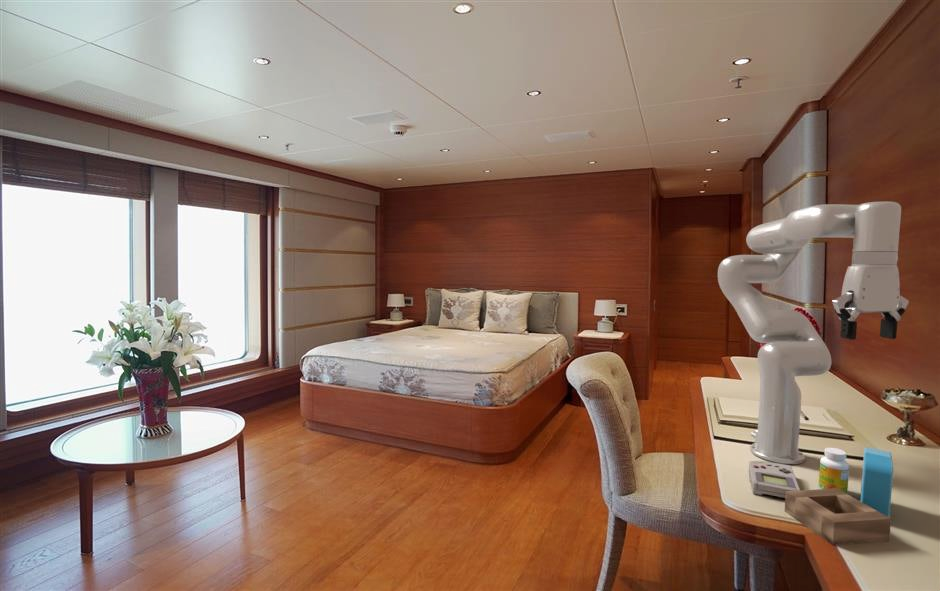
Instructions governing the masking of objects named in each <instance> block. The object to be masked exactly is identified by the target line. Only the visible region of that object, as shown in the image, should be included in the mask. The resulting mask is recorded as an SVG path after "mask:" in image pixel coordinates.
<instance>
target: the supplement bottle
mask: <svg viewBox="0 0 940 591" xmlns="http://www.w3.org/2000/svg"><path fill="white" fill-rule="evenodd" d="M819 463H820V464H819V473H818V474H819V475H818V488H819V489H834V488H837V489H839V490H841V491H842V492H844V493H846V494H848V488H849V476H850V475H849V474H850V464H849V462H848V461H847V452H846V451H844V450H843V449H840V448H836V447H825V448H824V456H822V457H821V458H820V460H819Z"/></svg>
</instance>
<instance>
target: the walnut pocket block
mask: <svg viewBox="0 0 940 591" xmlns="http://www.w3.org/2000/svg"><path fill="white" fill-rule="evenodd" d="M784 499H785V500H784V512H785V513H786V514H788V515H789V516H791V517H792V518H794V519H795V520H796V521H797V522H798V523H799V522H800V523H801V524H802V525H803V526H805V527H806V528H808V529H809V530H811V531H812V532H813V533H815V534H816V535H818V536H819V537H821V538H822V539H823V540H824V541H826V542H828V543H829V544H831V545H833V546H836V545H837V546H839V545H851V544H861V543H862V544H865V543H877V542H889V541H890V535H891V522H892V518H891V517H890V516H889V517H887V516H885V515H884V514H882V513H880V512H878V511H876V510H875V509H873V508H871V507H869V506H867V505H866V504H864V503H862V502H861V500H858V499H856V498H854V497H853V496H851V495H850V494H848V493H847V494H846V493H844V492H842V491H841V490H839V489H837V488H834V489H803V490H802V489H800V490H799V491H786V497H785V498H784Z"/></svg>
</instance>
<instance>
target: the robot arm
mask: <svg viewBox="0 0 940 591" xmlns="http://www.w3.org/2000/svg"><path fill="white" fill-rule="evenodd" d="M901 218H902V206H901V204H900V203H898V202H895V201H884V200H883V201H871V202H870V201H868V202H864V203H860V204H841V203H840V204H836V203H834V204H832V203H831V204H828V203H825V204H817V205H812V206H807V207H804V208H801V209H797V210H794V211H792V212H790V213H789V214H788V215H787V216H786V217H785V218H781V219H777V220H776V219H775V220H773V221H767V222H765V223H762V224H759V225H756V226H755V227H752V228H751V229H750V230H749V232H748V233H747V235H746V238H745V241H746V245H747V247H748V248H749V249H750V250H752V251H753V252H755V253H756V254H739V255H738V254H737V255H731V256H728V257H726V258H724V259H723V260H722V261H721V262H720V263H719V265H718V268H717V282H718V285H719V288H720V289H721V292H722V293H723V295H724V296H725V297H726V299H727V300H728V301H729V303H730V304H731V305H732V307H733V308H734V311H735V312H736V314H737V315H738V317H739V319H740V321H741V322H742V325H743V327H744V328H745V330H746V331H747V333H748V335H749V337H750V338H751V339H752V340H754V341H755V342H757V343H761V344H763V345H762V346H761V347H760V348H759V349H758V352H757V365H758V370H759V404H758V417H757V418H758V419H757V420H758V421H757V428H756V429H755V430H754V431H751V432H750V434H749V435H750V436H751V437H752V438H754V442H753V443H752V444H750V447H749V448H750V450H749V451H750V452H751V453H752V455H755V456H756V457H758V458H760V459H763V460H765V461H768V462H772V463H778V464H784V465H798V464H802V463H803V462H805V458H806V457H805V454H804V453H803V452H801V451H800V450H799V443H800V441H799V439H800V428H801V427H800V425H801V409H802V391H801V389H800V386H799V385H798V383H797V381H796V377H814V376H821V375H824V374H825V373H827V372H828V371H829V370H830V368H831V366H832V356H831V353H830V351H829V348H828V347H827V345H826V343H825V342H824V340H823V339H822V337H821V336H820V334H819V332H818V331H817V330H816V328H815V327H814V325H813V324H812V322H811V321H810V320H809V318H808V317H807V316H806V315H805V314H803V313H802V312H800V311H798V310H793V309H776V308H774V307H772V306H771V305H770V303H769V301H768V300H767V298H766V296H765V295H764V294H763V293H762V292H761V291H760V290H758V289H757V288H755V287H754V286H752V285H751V284H771V283H776V282H778V281H779V280H780V279H781V278H782V277H784V276H785V273H786V272H787V271H788V269H789V268H791V265H792V264H793V263H794V261H795V260H796V259H797V257H798V256H799V254H800V253H801V251H802V250H803V248H804V247H806V246H807V245H808V244H809V242H810V241H811V240H812V239H818V238H840V239H841V238H844V239H845V238H847V239H851V238H852V239H853V243H852V252H851V253H852V254H851V255H852V256H851V265H849V266H847V268H846V272H845V275H844V279H843V283H842V288H841V295H840V296H839V297H837V298H834V299H833V300H832V305H833V308H834V312H835V313H836V315H837V317H838V319H839V320H840V321H841V323H840V335H839V336H840V338H842V339H846V340H852V341H853V340H854V341H855V340H856V339H857V327H858V323H857V321H855V320H856V319H857V317H858V316H859V315H860V314H861V313H865V314H866V313H867V314H870V313H872V314H873V313H877V314H878V313H880V314H881V317H883V318H881V320H880V329H879V337H880V338H885V339H890V340H895V339H897V332H898V331H897V330H898V322H899V321H901V318H902V316H903V315H904V313H905V312H906V309H907V307H908V305H909V303H910V301H909V299H907V298H906V297H903V296H902V295H900V293H901V292H900V288H901V286H900V285H901V283H900V274H899V273H900V272H899V267H898V265H897V264H898V261H899V256H898V254H899V243H900V242H899V241H900V230H901V228H900V227H901V220H902V219H901ZM757 253H758V254H757Z"/></svg>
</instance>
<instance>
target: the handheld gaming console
mask: <svg viewBox="0 0 940 591" xmlns="http://www.w3.org/2000/svg"><path fill="white" fill-rule="evenodd" d="M748 475H749V480H750V488H751V492H752V494H753V495H756V496H757V495H758V496H763V495H769V496H773V497H779V498H784V499H785V497H786V491H799V490H801V489H800V485H799V483H798V481H797V478H796V475H795V473H794V470H793V467H792V465H791V464H783V463H777V462H772V461H768V460H765V461H764V460H763V461H762V460H760V461H759V460H749V462H748Z"/></svg>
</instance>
